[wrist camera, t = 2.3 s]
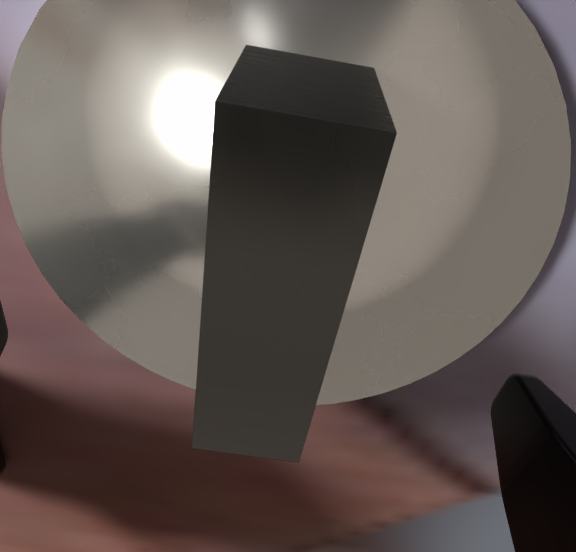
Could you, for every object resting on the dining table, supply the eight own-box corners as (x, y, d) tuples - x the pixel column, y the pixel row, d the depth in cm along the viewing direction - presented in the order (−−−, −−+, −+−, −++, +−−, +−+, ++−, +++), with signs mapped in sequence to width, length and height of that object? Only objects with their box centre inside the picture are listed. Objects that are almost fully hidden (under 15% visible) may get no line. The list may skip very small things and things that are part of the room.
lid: (440, 401, 17) (475, 541, 13) (61, 346, 16) (-17, 476, 13) (675, -38, 9) (919, -3, 5) (-29, -177, 9) (-300, -247, 5)
